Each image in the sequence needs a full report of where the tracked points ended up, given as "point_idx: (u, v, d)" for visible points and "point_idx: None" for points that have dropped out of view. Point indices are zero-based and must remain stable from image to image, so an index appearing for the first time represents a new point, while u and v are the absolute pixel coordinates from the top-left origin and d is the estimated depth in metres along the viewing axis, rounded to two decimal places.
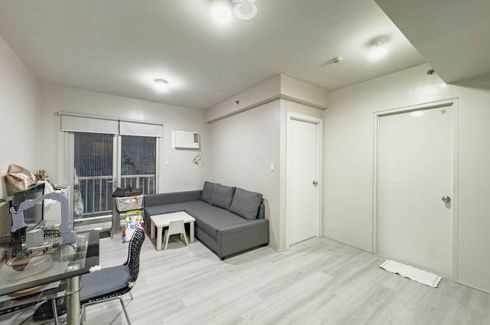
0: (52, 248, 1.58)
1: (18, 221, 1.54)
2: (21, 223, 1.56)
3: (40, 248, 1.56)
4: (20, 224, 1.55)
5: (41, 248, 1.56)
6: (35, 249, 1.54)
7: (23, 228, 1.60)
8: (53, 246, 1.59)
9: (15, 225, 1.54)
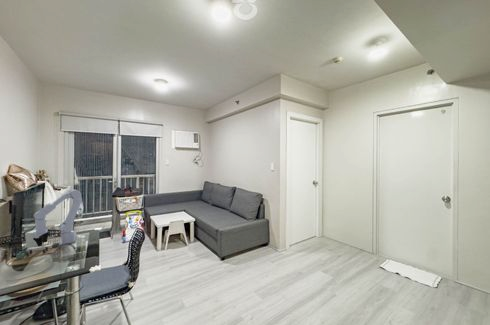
0: (52, 248, 1.58)
1: (41, 227, 1.54)
2: (44, 229, 1.56)
3: (40, 248, 1.56)
4: (43, 230, 1.55)
5: (41, 248, 1.56)
6: (35, 249, 1.54)
7: (45, 234, 1.60)
8: (53, 246, 1.59)
9: (38, 231, 1.54)
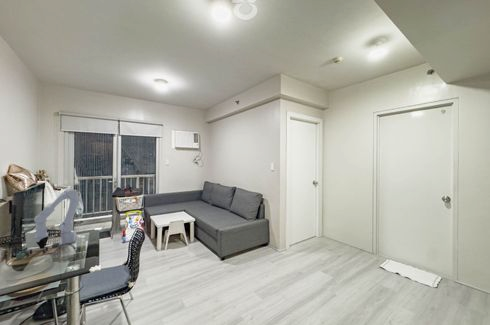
0: (52, 248, 1.58)
1: (41, 231, 1.55)
2: (44, 233, 1.56)
3: None
4: (43, 234, 1.56)
5: None
6: (35, 249, 1.54)
7: None
8: (53, 246, 1.59)
9: (38, 235, 1.54)
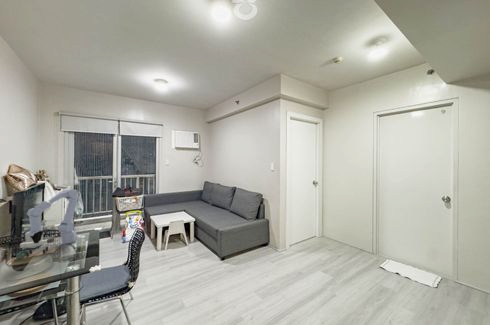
0: (52, 248, 1.58)
1: (35, 225, 1.48)
2: (38, 227, 1.49)
3: (34, 243, 1.49)
4: (37, 228, 1.49)
5: (35, 243, 1.49)
6: (29, 244, 1.48)
7: None
8: (48, 241, 1.52)
9: (32, 229, 1.47)
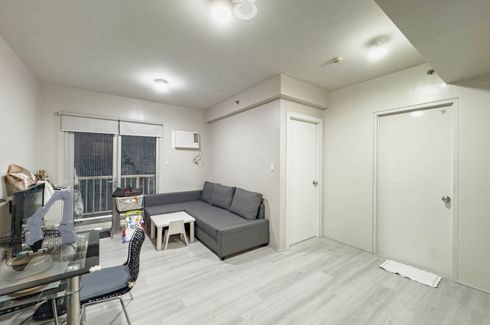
0: None
1: (35, 233, 1.47)
2: (38, 235, 1.48)
3: None
4: (37, 237, 1.48)
5: (35, 252, 1.48)
6: (29, 253, 1.47)
7: (39, 241, 1.52)
8: (48, 250, 1.51)
9: (32, 238, 1.46)
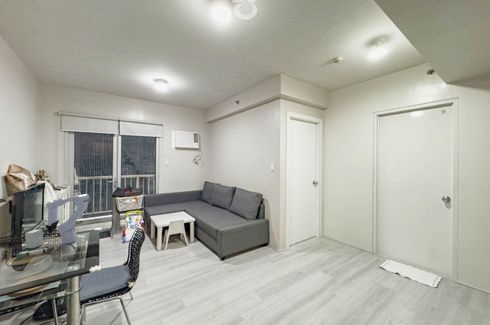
0: None
1: (53, 216, 1.66)
2: (55, 218, 1.68)
3: (34, 252, 1.48)
4: (54, 219, 1.67)
5: (35, 252, 1.48)
6: (29, 253, 1.47)
7: (55, 222, 1.72)
8: (48, 250, 1.51)
9: (50, 219, 1.66)
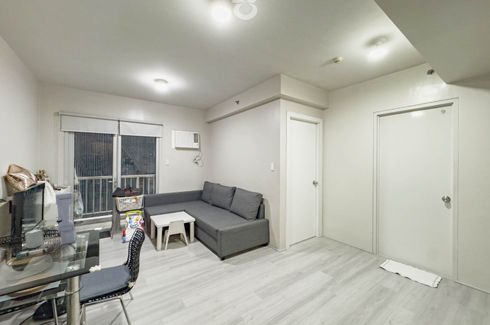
0: None
1: None
2: None
3: (34, 252, 1.48)
4: None
5: (35, 252, 1.48)
6: (29, 253, 1.47)
7: None
8: (48, 250, 1.51)
9: (60, 215, 1.76)
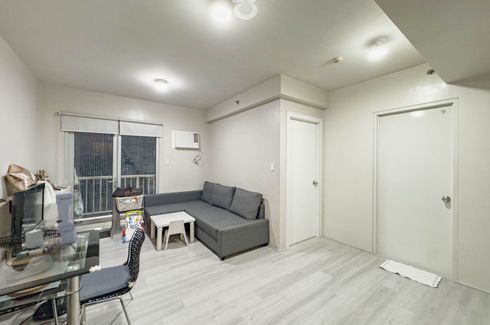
0: None
1: None
2: None
3: (34, 252, 1.48)
4: None
5: (35, 252, 1.48)
6: (29, 253, 1.47)
7: None
8: (48, 250, 1.51)
9: (60, 215, 1.76)
